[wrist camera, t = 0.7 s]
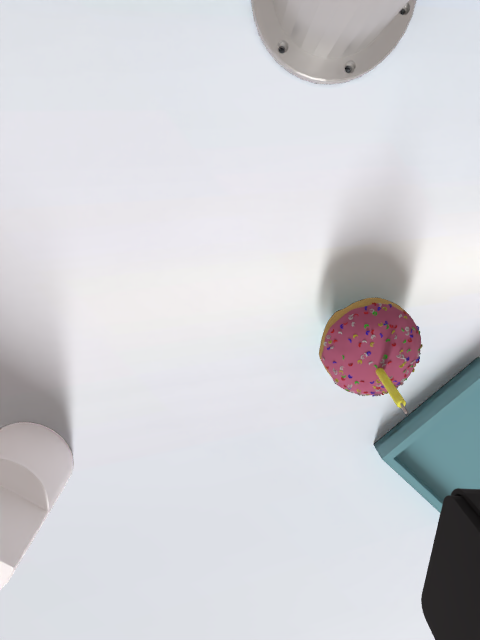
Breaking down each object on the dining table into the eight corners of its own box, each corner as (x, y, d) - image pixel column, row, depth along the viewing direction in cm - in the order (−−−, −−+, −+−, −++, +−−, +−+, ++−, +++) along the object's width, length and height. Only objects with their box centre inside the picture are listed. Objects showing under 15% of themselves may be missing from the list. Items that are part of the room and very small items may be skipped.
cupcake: (401, 365, 40) (468, 430, 29) (316, 380, 41) (349, 450, 29) (395, 281, 38) (465, 315, 26) (304, 297, 38) (335, 338, 27)
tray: (478, 356, 40) (493, 366, 38) (561, 446, 43) (580, 460, 41) (373, 444, 43) (381, 458, 40) (458, 523, 46) (470, 541, 43)
